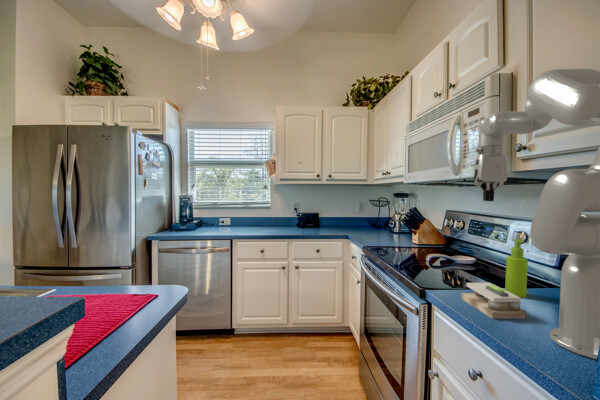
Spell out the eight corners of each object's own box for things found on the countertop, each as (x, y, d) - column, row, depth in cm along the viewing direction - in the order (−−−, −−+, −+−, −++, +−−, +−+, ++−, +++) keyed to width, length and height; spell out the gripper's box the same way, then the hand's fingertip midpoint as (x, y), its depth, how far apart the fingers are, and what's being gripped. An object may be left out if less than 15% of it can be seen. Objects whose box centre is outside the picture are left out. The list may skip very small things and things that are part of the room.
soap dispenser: (507, 296, 94) (509, 239, 93) (503, 290, 100) (505, 236, 99) (529, 300, 91) (531, 241, 90) (523, 293, 97) (526, 238, 97)
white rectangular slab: (520, 301, 79) (520, 292, 79) (493, 301, 79) (494, 292, 78) (489, 286, 91) (489, 277, 91) (466, 286, 91) (466, 278, 90)
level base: (525, 318, 78) (526, 303, 78) (492, 318, 78) (493, 303, 78) (489, 298, 92) (490, 285, 92) (461, 298, 92) (461, 286, 91)
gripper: (477, 150, 96) (476, 201, 97) (518, 150, 97) (515, 201, 98) (464, 152, 104) (462, 200, 104) (501, 153, 104) (499, 200, 105)
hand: (488, 200), depth 101 cm, fingers closed
